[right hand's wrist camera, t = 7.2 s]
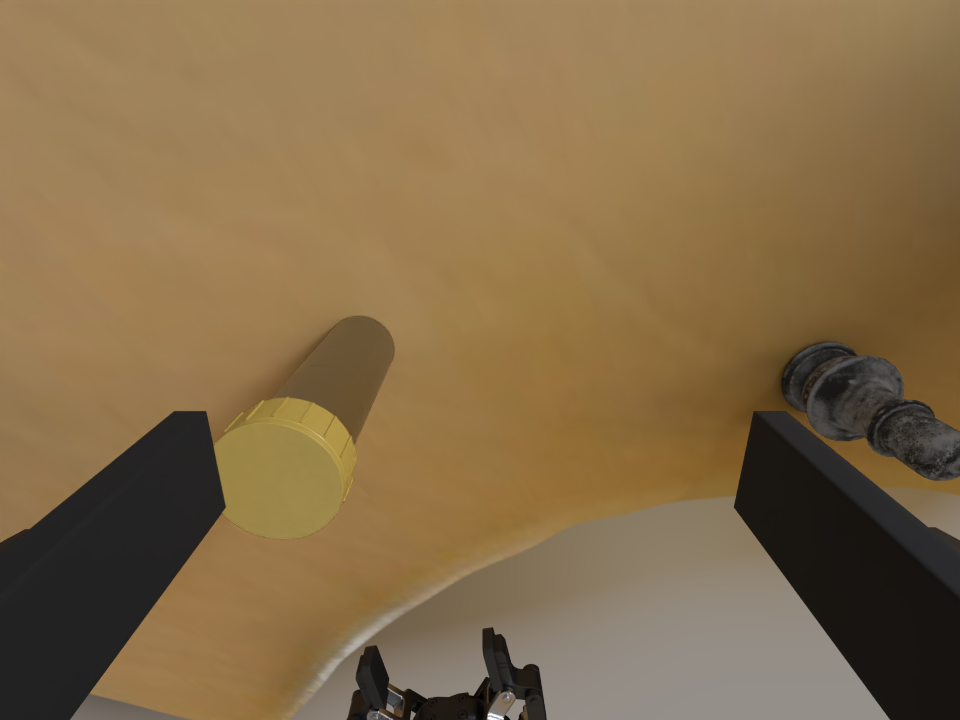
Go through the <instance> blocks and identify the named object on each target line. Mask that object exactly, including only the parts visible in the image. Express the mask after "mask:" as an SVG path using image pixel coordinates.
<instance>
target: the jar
mask: <svg viewBox="0 0 960 720" xmlns="http://www.w3.org/2000/svg"><path fill="white" fill-rule="evenodd" d="M393 356H394V343H393V339H392V337H391V335H390V333H389V332H388V330H387V329H386V328H385V327H384V326H383V325H382V324H381V323H379V322H378V321H376V320H374V319H372V318H368V317H364V316H354V317H349V318H346V319H344V320H342V321H341V322H339V323H338V324H337V325H336V326H335V327H334V328H333V329H332V330H331V332H330V333H329V334H328V335H327V336H326V337H325V338H324V340H323V341H322V342H321V343H320V344H319V345H318V346H317V348H316V349H315V350H314V351H313V352H312V353H311V354H310V355H309V357H308V358H307V359H306V360H305V361H304V362H303V363H302V365H301V366H300V367H299V368H298V369H297V370H296V371H295V372H294V374H293V375H292V376H291V377H290V378H289V379H288V380H287V382H286V383H285V384H284V385H283V386H282V387H281V388H280V390H279V391H278V392H277V393H276V394H275V395H274V396H273V397H272V399H275V398H286V397H289V398H296V399H302V400H305V401H309V402H312V403H313V402H314V403H315V404H316V405H319V406H320V407H322V408H324V409H326V410H327V411H329V412H330V413H332V414H333V415H334V416H336V417H337V419H338V420H339V421H340V422H341V423H342V424H343V425H344V427H345V428H346V430H347V431H348V433H349V435H350V436H352V441H353V444H354V445H355V443H356V441H357V439H358V436H359V434H360V432H361V430H362V427H363V425H364V423H365V421H366V418H367V416H368V414H369V412H370V409H371V407H372V405H373V403H374V400H375V398H376V396H377V393H378V391H379V389H380V387H381V384H382V382H383V380H384V378H385V375H386V373H387V371H388V369H389V366H390V364H391V362H392V360H393Z"/></svg>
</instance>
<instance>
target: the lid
mask: <svg viewBox="0 0 960 720" xmlns="http://www.w3.org/2000/svg"><path fill="white" fill-rule="evenodd" d="M223 433H224V434H223V436H222V437H221V438H220V439H219V440H218V441H217V442H216V443H215V445H214V451H215V456H216V461H217V466H218V471H219V475H220V480H221V485H222V490H223V495H224V500H225V504H226V508H225V509H224V511H223V512H222V514H223V515H224V516H225V517H226V518H227V519H228V520H230V521H231V522H232V523H234V524H235V525H237V526H238V527H240V528H241V529H243V530H245V531H247V532H250V533H252V534H255V535H258V536H261V537H265V538H270V539H279V540H288V539H297V538H302V537H305V536H309V535H311V534H313V533H315V532H317V531H319V530H321V529H322V528H324V527H325V526H326V525H327V524H328V523H330V521H331V520H332V519H333V518H334V517H335V515H336V514H337V512H338V510H339V508H340V506H341V504H342V503H344V502H345V499H346V497H347V494H348V492H349V489H350V487H351V484H352V482H353V479H354V478H352V477H353V474H354V470H355V465H356V462H357V459H358V458H357V457H356V453H355V447H354V444H353V441H352V436H350V435H349V433H348V431H347V430H346V428H345V427H344V425H343V424H342V423H341V422H340V421H339V420H338V419H337V417H336V416H334V415H333V414H332V413H330V412H329V411H327V410H326V409H324V408H322V407H320V406H319V405H316V404H315V403H314V402H313V403H312V402H309V401H305V400H302V399H296V398H289V397H286V398H275V399H270V400H266V401H264V400H261V401H260V402H259V403H258V404H256V405H254V406H252V407H251V408H249V409H248V410H247V411H246V412H245V413H244V412H242V413H241V414H240V415H239V416H238V417H237V418H236V419H235V420H234V421H233V422H232V423H231V424H230V425H229V426H228V427H227V428H226V429H225V430H224V431H223Z"/></svg>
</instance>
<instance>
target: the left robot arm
mask: <svg viewBox="0 0 960 720" xmlns="http://www.w3.org/2000/svg"><path fill="white" fill-rule="evenodd" d="M483 656H484V660H485V663H486V667H487V670H488V674H489V677H490V678H488V677H486V678H485V679H484V681H483V682H482V684H481V685H480V687H479V688H478V690H477V691H476V693H475V695H474V696H471V695H469V694H468V692H467V693H460V694H456V695H453V696H451V697H433V698H428V699H426V698H424V697H422V696H421V695H419V694H418V693H416V692H414V691H412V690H411V689H406V690H405V691H401V690H399V689H398V688H396V687H394V686H393V685H391V684H389V677H388V674H387V671H386V669H385V666H384V663H383V661H382V658H381V656H380V653H379V650H378V648H377V646H376V645H375V646H368V647H366V648H365V651H364V655H361V657H360V661H359V665H358V669H357V673H356V681H357V683H358V686H359V688H360V690H356V691H354V693H353V696H352V703H351V707H350V711H349V715H348V718H347V720H410V715H411V711H413V712H414V713H416V715H415V717H414V718H413V720H510V719H509V718H508V717H507V716H506V715H505V714H506V713H507V711H508V710H509V709H510V707H511V706H512V704H513V703H514V701H515V699H522V700H525V703H526V705H524V706H523V712H521V713H520V715H519V719H518V720H547V719H546V711H545V704H544V698H543V691H542V685H541V678H540V672H539V668H538V666H536V665H534V664H528V665H526V666H525V667H524V668H523V669H518V668H516V667H514V666H513V664H512V663H511V660H510V656H509V652H508V648H507V645H506V641H505V638H504V637H503V636H502V635H501V634H498V635H495V633H494V630H493V627H491V628H485V629H483ZM387 703H388V704H390V705H392V706H393V708H394V714H393V713H391V712H389V711H387V710H386V706H387Z"/></svg>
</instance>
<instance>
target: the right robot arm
mask: <svg viewBox="0 0 960 720" xmlns="http://www.w3.org/2000/svg"><path fill="white" fill-rule="evenodd" d="M225 508H226V504H225V500H224V495H223V490H222V485H221V480H220V475H219V471H218V466H217V461H216V456H215V451H214V446H213V442H212V437H211V432H210V427H209V422H208V417H207V413H206V411H174V412H173V413H172V414H170V415H169V416H168V417H167V418H165V419H164V420H163V421H162V422H160V423H159V424H158V425H157V426H156V427H154V428H153V429H152V430H151V431H149V432H148V433H147V434H146V435H145V436H143V437H142V438H141V439H140V440H138V441H137V442H136V443H135V444H133V445H132V446H131V447H130V448H129V449H127V450H126V451H125V452H124V453H122V454H121V455H120V456H119V457H118V458H116V459H115V460H114V461H113V462H111V463H110V464H109V465H108V466H106V467H105V468H104V469H103V470H102V471H100V472H99V473H98V474H97V475H95V476H94V477H93V478H92V479H91V480H89V481H88V482H87V483H86V484H84V485H83V486H82V487H81V488H80V489H78V490H77V491H76V492H75V493H73V494H72V495H71V496H70V497H68V498H67V499H66V500H65V501H64V502H62V503H61V504H60V505H59V506H57V507H56V508H55V509H54V510H53V511H51V512H50V513H49V514H48V515H46V516H45V517H44V518H43V519H41V520H40V521H39V522H38V523H37V524H35V525H34V526H33V527H32V528H30V529H25V530H23V531H21V532H19V533H17V534H16V535H14V536H12V537H10V538H8V539H6V540H4V541H3V542H1V543H0V720H70V719H71V717H72V716H73V715H74V713H75V712H76V711H77V709H78V708H79V707H80V705H81V704H82V703H83V701H84V700H85V698H86V697H87V696H88V694H89V693H90V692H91V690H92V689H93V688H94V686H95V685H96V683H97V682H98V681H99V679H100V678H101V677H102V675H103V674H104V673H105V671H106V670H107V669H108V667H109V666H110V664H111V663H112V662H113V660H114V659H115V658H116V656H117V655H118V654H119V652H120V651H121V649H122V648H123V647H124V645H125V644H126V643H127V641H128V640H129V639H130V637H131V636H132V635H133V633H134V632H135V630H136V629H137V628H138V626H139V625H140V624H141V622H142V621H143V620H144V618H145V617H146V615H147V614H148V613H149V611H150V610H151V609H152V607H153V606H154V605H155V603H156V602H157V601H158V599H159V598H160V596H161V595H162V594H163V592H164V591H165V590H166V588H167V587H168V586H169V584H170V583H171V581H172V580H173V579H174V577H175V576H176V575H177V573H178V572H179V571H180V569H181V568H182V567H183V565H184V564H185V562H186V561H187V560H188V558H189V557H190V556H191V554H192V553H193V552H194V550H195V549H196V547H197V546H198V545H199V543H200V542H201V541H202V539H203V538H204V537H205V535H206V534H207V533H208V531H209V530H210V528H211V527H212V526H213V524H214V523H215V522H216V520H217V519H218V518H219V516H220V515H221V514H222V512H223V511H224V509H225ZM734 508H735V509H736V511H737V512H738V513H739V515H740V516H741V517H742V519H743V520H744V522H745V523H746V524H747V526H748V527H749V528H750V530H751V531H752V533H753V534H754V535H755V536H756V538H757V539H758V541H759V542H760V543H761V545H762V546H763V547H764V549H765V550H766V552H767V553H768V554H769V556H770V557H771V558H772V560H773V561H774V562H775V564H776V565H777V567H778V568H779V569H780V571H781V572H782V573H783V575H784V576H785V577H786V579H787V580H788V581H789V583H790V584H791V586H792V587H793V588H794V590H795V591H796V592H797V594H798V595H799V596H800V598H801V599H802V601H803V602H804V603H805V605H806V606H807V607H808V609H809V610H810V611H811V613H812V614H813V615H814V617H815V618H816V620H817V621H818V622H819V624H820V625H821V626H822V628H823V629H824V630H825V632H826V633H827V635H828V636H829V637H830V639H831V640H832V641H833V643H834V644H835V645H836V647H837V648H838V649H839V651H840V652H841V654H842V655H843V656H844V658H845V659H846V660H847V662H848V663H849V664H850V666H851V667H852V669H853V670H854V671H855V673H856V674H857V675H858V677H859V678H860V679H861V681H862V682H863V683H864V685H865V686H866V688H867V689H868V690H869V692H870V693H871V694H872V696H873V697H874V698H875V700H876V701H877V702H878V704H879V705H880V707H881V708H882V709H883V711H884V712H885V713H886V715H887V716H888V717H889V719H890V720H960V540H958V539H956V538H954V537H952V536H951V535H949V534H947V533H945V532H943V531H941V530H939V529H937V528H935V527H927V526H926V525H925V524H923V523H922V522H921V521H920V520H919V519H917V518H916V517H915V516H914V515H912V514H911V513H910V512H909V511H907V510H906V509H905V508H904V507H903V506H901V505H900V504H899V503H898V502H896V501H895V500H894V499H893V498H892V497H890V496H889V495H888V494H887V493H885V492H884V491H883V490H882V489H880V488H879V487H878V486H877V485H876V484H874V483H873V482H872V481H871V480H869V479H868V478H867V477H866V476H865V475H863V474H862V473H861V472H860V471H858V470H857V469H856V468H855V467H854V466H852V465H851V464H850V463H849V462H847V461H846V460H845V459H844V458H842V457H841V456H840V455H839V454H838V453H836V452H835V451H834V450H833V449H831V448H830V447H829V446H828V445H827V444H825V443H824V442H823V441H822V440H820V439H819V438H818V437H817V436H815V435H814V434H813V433H812V432H811V431H809V430H808V429H807V428H806V427H804V426H803V425H802V424H801V423H800V422H798V421H797V420H796V419H795V418H793V417H792V416H791V415H790V414H788V413H787V412H786V411H754V413H753V417H752V422H751V427H750V432H749V437H748V442H747V446H746V451H745V456H744V461H743V466H742V471H741V475H740V480H739V485H738V490H737V495H736V500H735V504H734Z"/></svg>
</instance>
